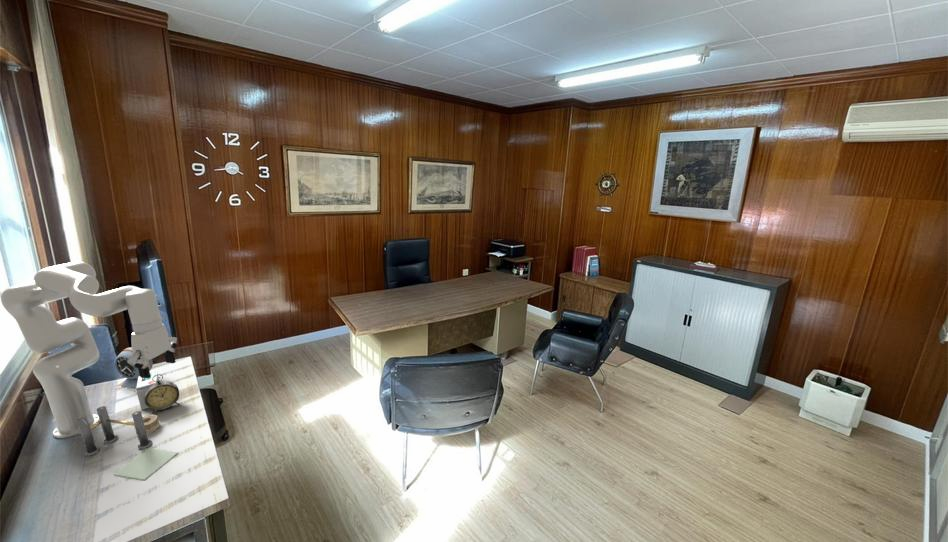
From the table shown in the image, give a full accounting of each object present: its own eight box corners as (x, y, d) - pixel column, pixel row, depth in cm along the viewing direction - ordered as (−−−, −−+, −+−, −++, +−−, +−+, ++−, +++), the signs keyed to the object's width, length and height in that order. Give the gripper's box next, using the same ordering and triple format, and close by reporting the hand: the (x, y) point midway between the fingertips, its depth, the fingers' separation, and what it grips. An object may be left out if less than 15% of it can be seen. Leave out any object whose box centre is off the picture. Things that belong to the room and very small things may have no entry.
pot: (132, 433, 140) (130, 424, 139) (149, 422, 146) (147, 413, 145) (147, 435, 139) (144, 427, 138) (163, 424, 145) (161, 415, 144)
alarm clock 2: (148, 416, 149) (139, 382, 144) (148, 410, 153) (139, 376, 148) (182, 405, 156) (174, 372, 152) (181, 399, 160) (173, 367, 155)
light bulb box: (143, 397, 161) (137, 376, 158) (162, 392, 165) (157, 371, 162) (140, 410, 153) (134, 388, 150) (161, 404, 157) (156, 382, 154)
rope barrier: (81, 455, 129) (70, 422, 125) (112, 435, 138) (102, 404, 134) (126, 463, 126) (116, 429, 122) (155, 442, 136) (146, 410, 132)
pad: (113, 475, 121) (113, 474, 121) (149, 448, 133) (149, 447, 133) (144, 480, 120) (144, 479, 120) (178, 453, 131) (178, 452, 131)
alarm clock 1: (115, 386, 169) (105, 351, 164) (137, 374, 178) (128, 341, 173) (141, 389, 166) (131, 355, 161) (162, 377, 176) (153, 344, 171)
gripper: (160, 314, 132) (170, 356, 136) (110, 335, 115) (124, 383, 120) (179, 315, 131) (189, 358, 136) (133, 337, 114) (145, 384, 119)
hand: (158, 369), depth 128 cm, fingers open, 9 cm apart
